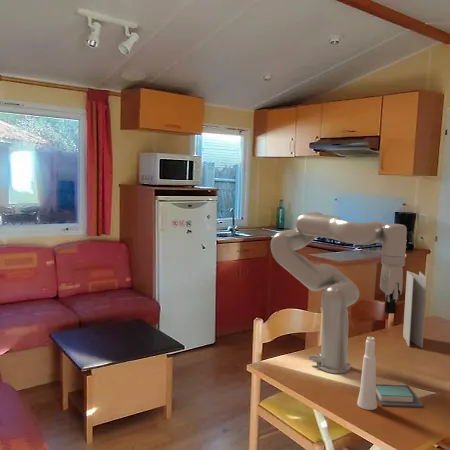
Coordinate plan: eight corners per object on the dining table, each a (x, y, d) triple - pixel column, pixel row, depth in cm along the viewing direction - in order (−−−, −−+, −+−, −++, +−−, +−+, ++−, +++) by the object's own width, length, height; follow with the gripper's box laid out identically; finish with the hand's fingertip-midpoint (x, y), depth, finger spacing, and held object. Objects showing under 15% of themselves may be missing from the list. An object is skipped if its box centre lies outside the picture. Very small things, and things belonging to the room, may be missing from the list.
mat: (381, 405, 145) (381, 404, 145) (369, 385, 159) (369, 384, 159) (423, 407, 145) (423, 405, 145) (407, 387, 159) (408, 385, 159)
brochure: (422, 348, 195) (427, 278, 192) (408, 347, 196) (413, 277, 193) (415, 336, 209) (420, 271, 206) (402, 335, 210) (406, 270, 207)
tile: (375, 391, 154) (380, 400, 147) (375, 385, 154) (381, 394, 147) (405, 392, 153) (412, 402, 147) (406, 386, 153) (413, 396, 147)
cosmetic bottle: (381, 407, 145) (385, 339, 142) (368, 412, 141) (372, 342, 139) (365, 399, 150) (369, 333, 147) (353, 403, 146) (356, 336, 144)
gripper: (375, 256, 165) (373, 306, 167) (388, 264, 150) (385, 319, 152) (397, 256, 164) (394, 307, 166) (412, 264, 150) (408, 319, 152)
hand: (390, 312), depth 159 cm, fingers closed
